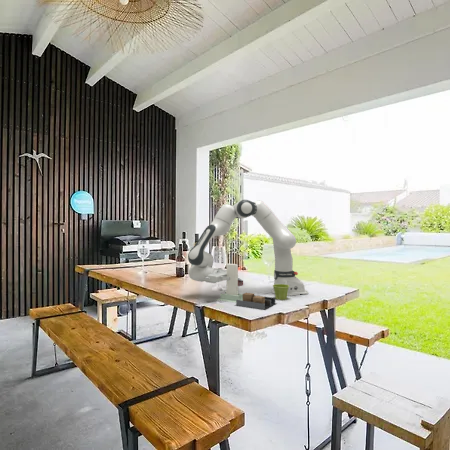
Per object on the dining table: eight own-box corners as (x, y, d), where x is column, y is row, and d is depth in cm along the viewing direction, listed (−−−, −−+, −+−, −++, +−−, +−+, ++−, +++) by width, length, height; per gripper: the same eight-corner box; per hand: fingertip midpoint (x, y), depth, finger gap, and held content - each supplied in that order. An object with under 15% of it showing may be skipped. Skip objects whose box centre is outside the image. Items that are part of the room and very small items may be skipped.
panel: (228, 298, 204) (228, 263, 203) (237, 299, 201) (237, 264, 200) (226, 298, 202) (226, 264, 201) (235, 300, 199) (235, 264, 198)
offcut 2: (256, 305, 188) (256, 295, 188) (264, 306, 186) (264, 296, 185) (252, 306, 185) (252, 297, 184) (261, 307, 182) (261, 298, 182)
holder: (226, 297, 210) (226, 290, 210) (247, 300, 203) (247, 293, 203) (216, 301, 200) (216, 294, 200) (237, 305, 193) (237, 297, 192)
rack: (247, 301, 201) (247, 294, 201) (277, 305, 192) (277, 298, 191) (234, 307, 187) (234, 299, 187) (265, 312, 178) (265, 304, 178)
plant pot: (280, 303, 197) (281, 287, 196) (269, 300, 204) (269, 285, 204) (292, 301, 202) (292, 286, 202) (280, 297, 210) (281, 283, 210)
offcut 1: (246, 303, 191) (246, 292, 191) (254, 304, 189) (254, 293, 188) (242, 305, 188) (242, 293, 188) (251, 306, 185) (251, 295, 185)
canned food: (233, 289, 255) (237, 276, 259) (244, 290, 249) (247, 276, 253) (224, 284, 248) (227, 271, 252) (235, 284, 241) (238, 271, 245)
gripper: (203, 272, 198) (224, 274, 191) (221, 267, 216) (241, 269, 209) (203, 283, 199) (224, 286, 192) (221, 278, 216) (241, 280, 209)
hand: (233, 277), depth 200 cm, fingers open, 8 cm apart
